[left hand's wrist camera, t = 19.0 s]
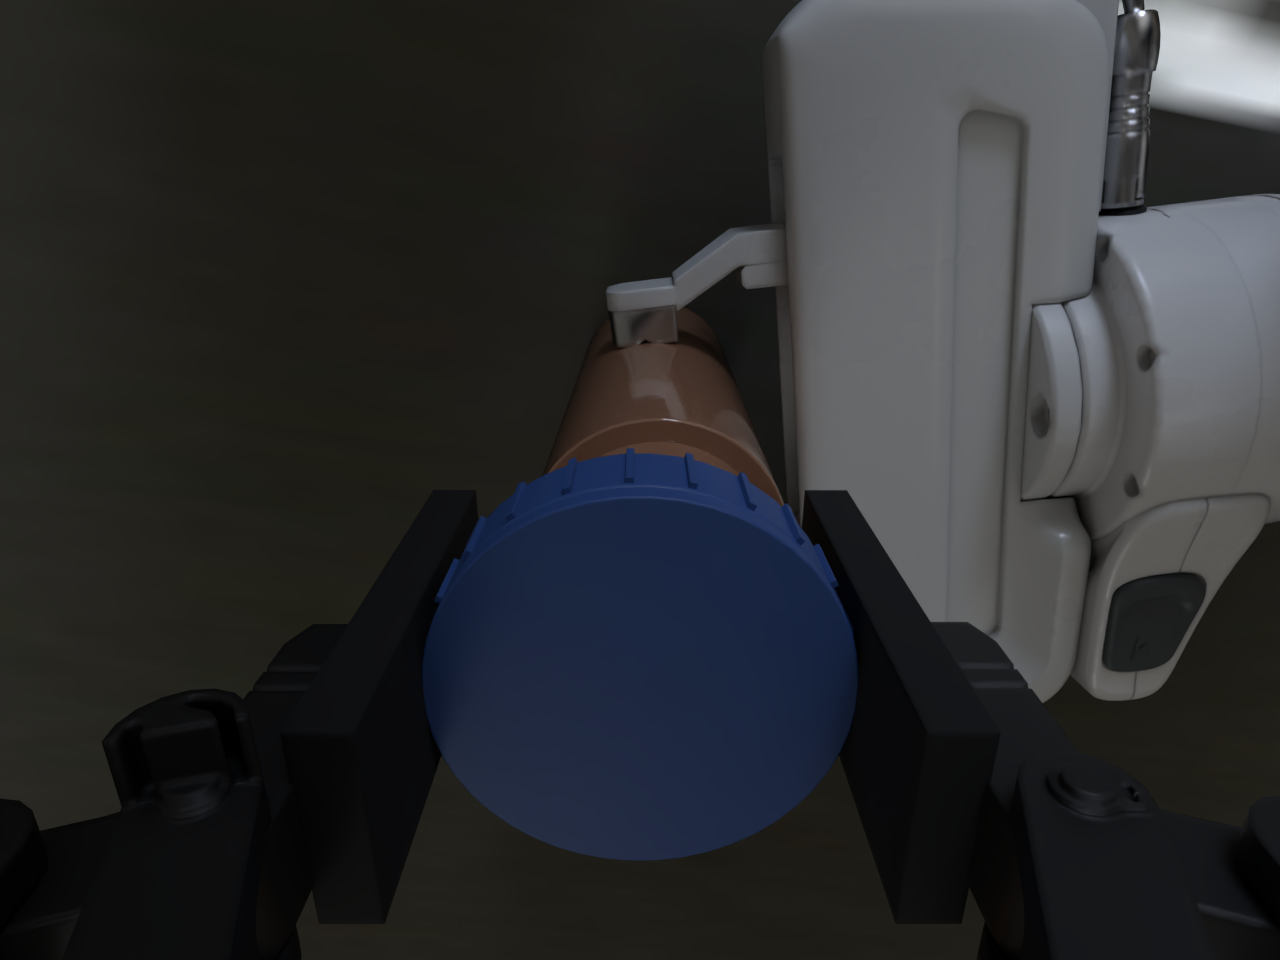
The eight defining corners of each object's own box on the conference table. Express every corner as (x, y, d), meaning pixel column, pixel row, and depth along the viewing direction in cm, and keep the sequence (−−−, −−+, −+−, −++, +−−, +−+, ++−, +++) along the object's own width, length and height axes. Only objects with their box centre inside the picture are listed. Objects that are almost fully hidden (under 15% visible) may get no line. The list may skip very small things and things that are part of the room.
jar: (582, 437, 29) (516, 691, 15) (585, 297, 28) (513, 436, 13) (720, 443, 29) (784, 703, 15) (732, 304, 28) (819, 451, 13)
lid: (918, 578, 12) (959, 639, 10) (693, 838, 14) (699, 922, 12) (572, 365, 11) (561, 398, 9) (377, 681, 13) (340, 753, 11)
